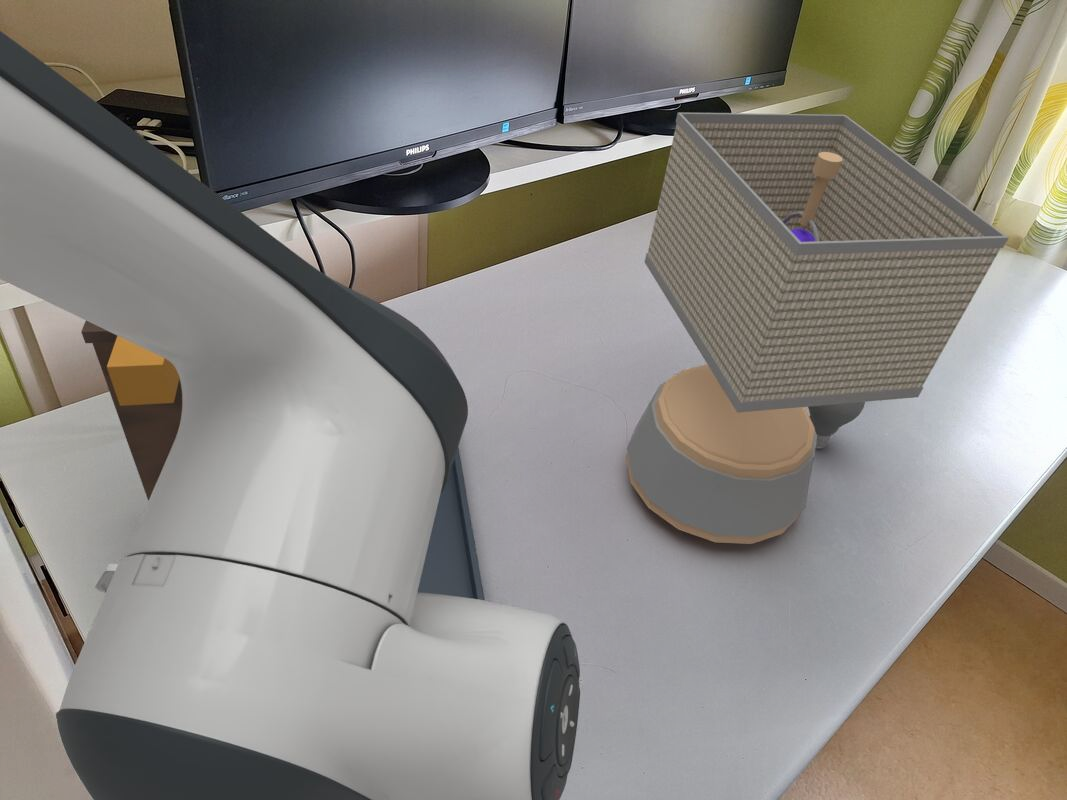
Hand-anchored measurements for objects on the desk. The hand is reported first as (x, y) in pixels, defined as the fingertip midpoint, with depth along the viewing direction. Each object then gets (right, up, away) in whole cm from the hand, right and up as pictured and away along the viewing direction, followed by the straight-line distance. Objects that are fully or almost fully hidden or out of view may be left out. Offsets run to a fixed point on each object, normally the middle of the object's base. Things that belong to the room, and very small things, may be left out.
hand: (59, 659), depth 41 cm
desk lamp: (+45, +5, +40) cm, 60 cm away
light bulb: (+58, +9, +47) cm, 75 cm away
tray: (+12, +3, +33) cm, 36 cm away
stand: (-2, +2, +30) cm, 30 cm away
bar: (0, +21, +13) cm, 25 cm away
